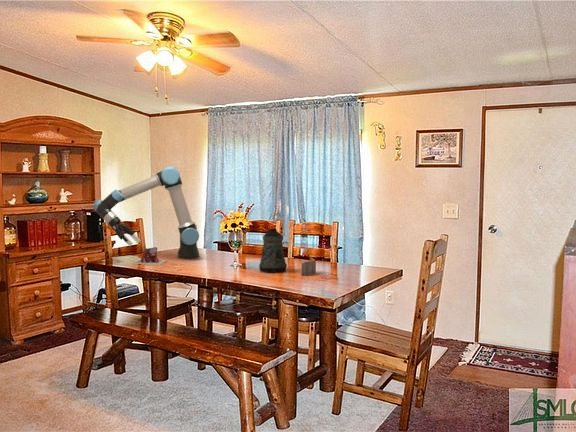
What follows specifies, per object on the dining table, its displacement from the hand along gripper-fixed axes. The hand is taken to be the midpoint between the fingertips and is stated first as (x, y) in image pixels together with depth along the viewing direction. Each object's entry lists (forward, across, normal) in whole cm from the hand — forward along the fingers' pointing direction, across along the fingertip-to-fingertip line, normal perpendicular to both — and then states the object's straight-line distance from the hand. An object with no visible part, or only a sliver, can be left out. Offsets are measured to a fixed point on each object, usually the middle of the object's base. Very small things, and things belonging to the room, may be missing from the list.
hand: (135, 243), depth 327 cm
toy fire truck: (+16, 0, -3) cm, 16 cm away
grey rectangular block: (+90, +26, +70) cm, 117 cm away
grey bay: (+16, 0, -3) cm, 16 cm away
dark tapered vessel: (+73, +16, +54) cm, 92 cm away
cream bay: (+2, -12, -17) cm, 21 cm away
